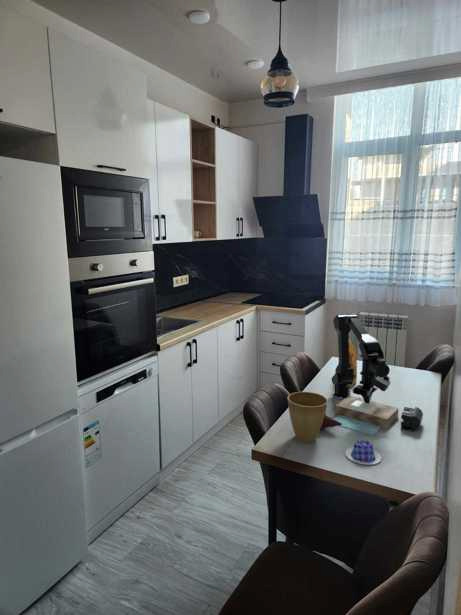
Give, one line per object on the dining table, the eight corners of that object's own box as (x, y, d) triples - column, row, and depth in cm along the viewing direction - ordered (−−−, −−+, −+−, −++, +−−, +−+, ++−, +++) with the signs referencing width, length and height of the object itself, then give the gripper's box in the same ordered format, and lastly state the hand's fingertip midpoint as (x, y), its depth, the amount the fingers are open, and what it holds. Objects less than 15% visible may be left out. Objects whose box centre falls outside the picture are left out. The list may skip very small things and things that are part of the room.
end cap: (419, 433, 158) (421, 417, 157) (400, 429, 162) (401, 413, 161) (422, 423, 167) (423, 408, 166) (403, 419, 170) (404, 404, 169)
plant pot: (316, 451, 145) (318, 410, 142) (280, 440, 153) (280, 400, 151) (332, 435, 157) (333, 396, 154) (297, 425, 165) (298, 388, 163)
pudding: (375, 448, 148) (375, 435, 147) (386, 466, 136) (387, 452, 135) (341, 448, 148) (342, 434, 147) (350, 466, 136) (350, 451, 136)
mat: (329, 422, 168) (329, 422, 168) (339, 415, 175) (339, 414, 175) (372, 436, 156) (372, 435, 156) (381, 427, 163) (381, 426, 163)
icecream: (344, 413, 161) (308, 409, 169) (339, 416, 155) (302, 411, 163) (343, 431, 161) (307, 426, 168) (339, 434, 154) (301, 429, 162)
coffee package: (334, 384, 211) (335, 343, 208) (339, 377, 222) (341, 338, 219) (353, 387, 207) (355, 345, 203) (358, 380, 218) (360, 340, 214)
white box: (350, 409, 171) (350, 404, 171) (356, 404, 176) (356, 400, 176) (371, 414, 166) (371, 410, 165) (376, 409, 170) (377, 405, 170)
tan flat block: (335, 413, 176) (335, 405, 176) (349, 403, 187) (349, 395, 186) (386, 428, 162) (386, 419, 162) (397, 416, 173) (398, 408, 172)
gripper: (380, 379, 159) (378, 417, 161) (395, 368, 173) (393, 402, 176) (353, 374, 166) (351, 409, 169) (370, 363, 180) (368, 396, 183)
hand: (367, 404), depth 174 cm, fingers closed
